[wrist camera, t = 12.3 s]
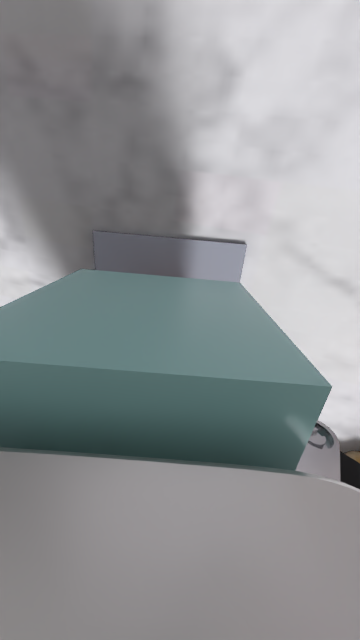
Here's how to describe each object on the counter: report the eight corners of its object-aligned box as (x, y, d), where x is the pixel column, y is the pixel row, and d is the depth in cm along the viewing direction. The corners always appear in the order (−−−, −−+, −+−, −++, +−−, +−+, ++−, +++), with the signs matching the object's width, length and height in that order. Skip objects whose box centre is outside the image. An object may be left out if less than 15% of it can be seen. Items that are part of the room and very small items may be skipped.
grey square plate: (93, 230, 15) (92, 230, 15) (246, 244, 15) (246, 244, 15) (102, 359, 19) (101, 361, 19) (222, 369, 19) (222, 370, 19)
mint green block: (81, 268, 11) (-97, 353, 4) (239, 282, 11) (332, 386, 4) (92, 393, 14) (3, 562, 7) (216, 403, 14) (247, 578, 7)
